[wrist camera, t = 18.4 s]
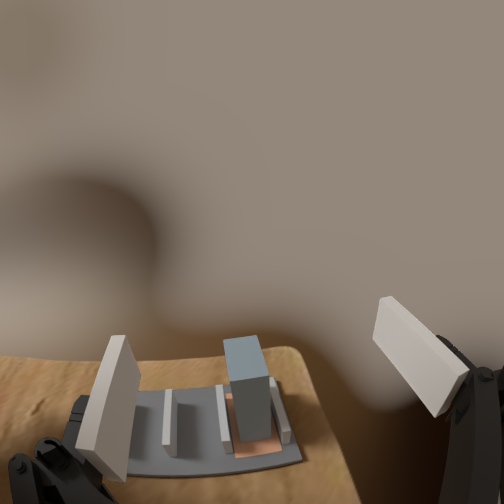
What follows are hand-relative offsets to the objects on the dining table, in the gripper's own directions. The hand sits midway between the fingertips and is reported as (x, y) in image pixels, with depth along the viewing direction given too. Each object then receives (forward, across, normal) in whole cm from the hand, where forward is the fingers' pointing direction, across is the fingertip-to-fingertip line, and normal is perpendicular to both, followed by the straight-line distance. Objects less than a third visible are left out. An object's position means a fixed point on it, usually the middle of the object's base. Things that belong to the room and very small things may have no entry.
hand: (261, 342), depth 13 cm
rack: (+13, -7, -26) cm, 30 cm away
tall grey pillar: (+13, 0, -25) cm, 28 cm away
